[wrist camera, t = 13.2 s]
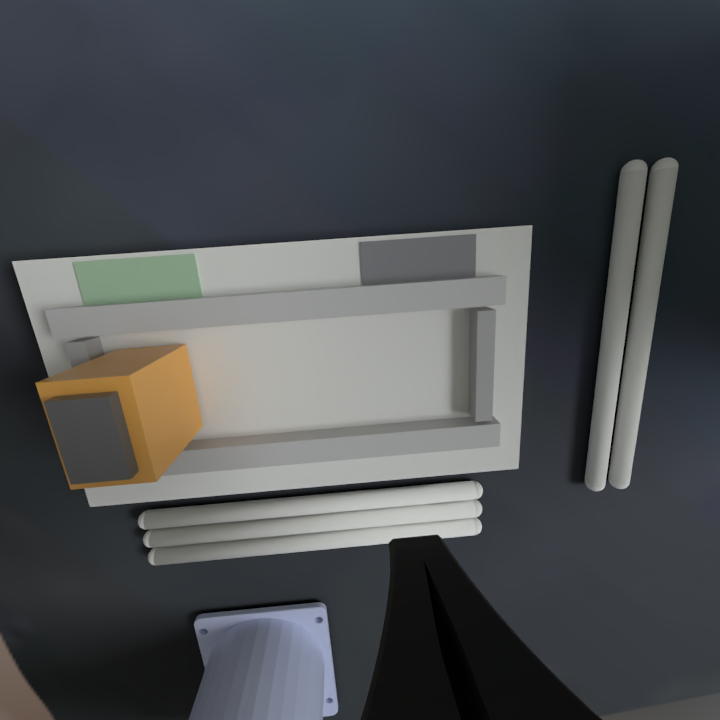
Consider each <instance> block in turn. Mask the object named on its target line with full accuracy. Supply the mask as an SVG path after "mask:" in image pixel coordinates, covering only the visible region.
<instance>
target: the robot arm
mask: <svg viewBox="0 0 720 720" xmlns="http://www.w3.org/2000/svg"><path fill="white" fill-rule="evenodd" d="M389 552H390V570H391V571H390V585H389V593H388V601H387V608H386V615H385V621H384V626H383V631H382V636H381V641H380V647H379V652H378V656H377V661H376V665H375V669H374V673H373V677H372V681H371V685H370V689H369V693H368V697H367V700H366V704H365V707H364V711H363V714H362V718H361V720H602V719H601V718H600V717H598V716H597V715H596V714H595V713H594V712H593V711H592V710H591V709H590V708H589V707H588V706H587V705H585V704H584V703H583V702H582V701H581V700H580V699H579V698H578V697H577V696H576V695H575V694H574V693H573V692H572V691H571V690H570V689H569V688H568V687H567V686H566V685H564V684H563V683H562V682H561V681H560V680H559V679H558V678H557V677H556V676H555V675H554V674H553V673H552V672H551V671H550V670H549V669H548V668H547V667H546V666H545V665H544V664H543V662H542V661H541V660H540V659H539V658H538V657H537V656H536V655H535V654H534V653H533V652H532V651H531V650H530V649H529V648H528V647H527V646H526V644H525V643H524V642H523V641H522V640H521V639H520V638H519V637H518V636H517V635H516V633H515V632H514V631H513V630H512V629H511V628H510V627H509V626H508V624H507V623H506V622H505V621H504V620H503V619H502V618H501V616H500V615H499V614H498V613H497V612H496V610H495V609H494V608H493V607H492V606H491V604H490V603H489V602H488V601H487V599H486V598H485V597H484V596H483V595H482V593H481V592H480V591H479V590H478V588H477V587H476V586H475V585H474V583H473V582H472V581H471V579H470V578H469V577H468V575H467V574H466V573H465V571H464V570H463V569H462V567H461V566H460V565H459V563H458V562H457V560H456V559H455V558H454V556H453V555H452V553H451V552H450V550H449V549H448V547H447V546H446V544H445V543H444V541H443V540H442V538H441V537H440V536H439V535H427V536H417V537H406V538H396V539H392V540H391V541H390V542H389ZM194 628H195V632H196V636H197V640H198V644H199V648H200V652H201V656H202V660H203V663H204V667H205V671H204V674H203V677H202V680H201V684H200V687H199V690H198V693H197V696H196V699H195V702H194V705H193V708H192V711H191V714H190V717H189V720H323V717H324V716H332V715H335V714H336V713H337V712H338V700H337V692H336V683H335V675H334V667H333V659H332V650H331V642H330V634H329V626H328V617H327V609H326V606H325V605H324V604H323V603H321V602H315V603H305V604H295V605H285V606H275V607H265V608H254V609H244V610H234V611H224V612H214V613H204V614H200V615H198V616H197V617H196V619H195V622H194Z"/></svg>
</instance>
